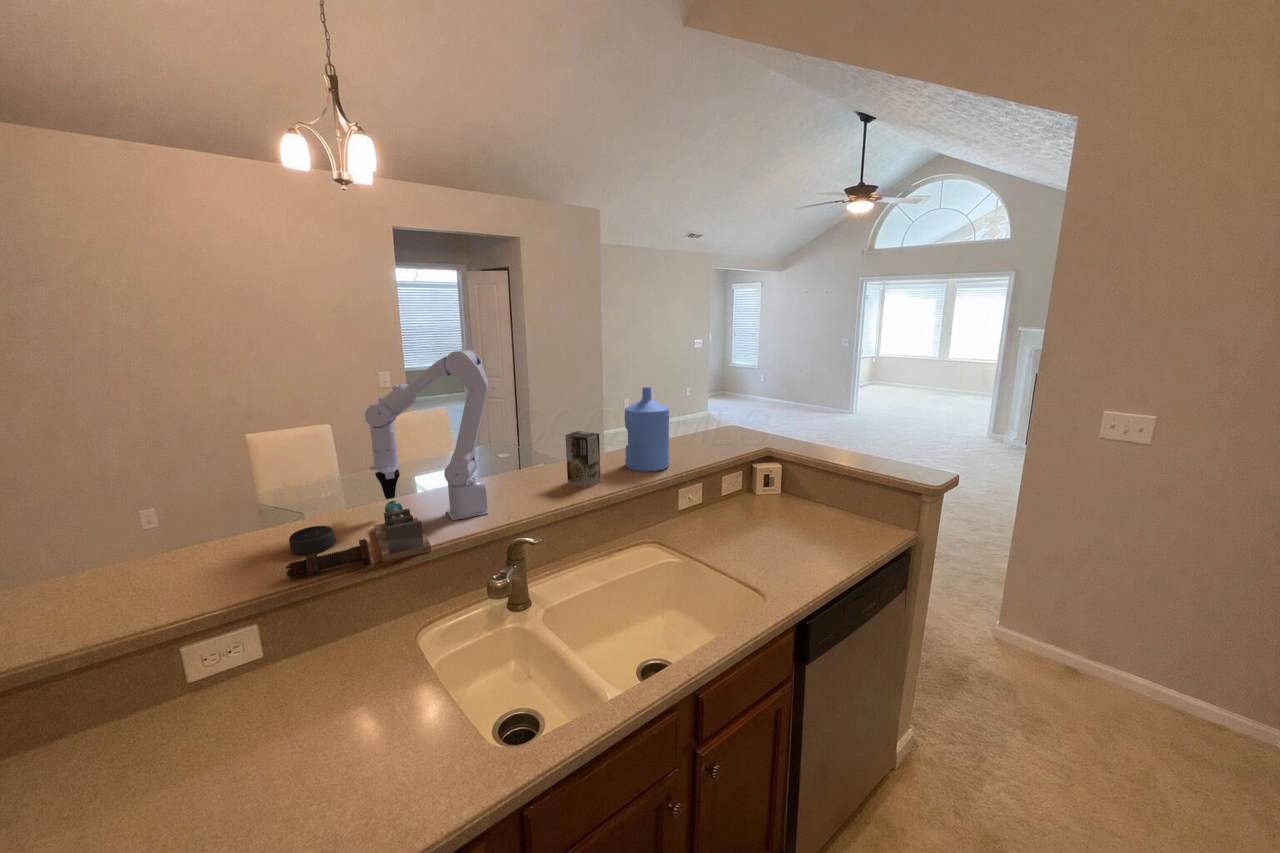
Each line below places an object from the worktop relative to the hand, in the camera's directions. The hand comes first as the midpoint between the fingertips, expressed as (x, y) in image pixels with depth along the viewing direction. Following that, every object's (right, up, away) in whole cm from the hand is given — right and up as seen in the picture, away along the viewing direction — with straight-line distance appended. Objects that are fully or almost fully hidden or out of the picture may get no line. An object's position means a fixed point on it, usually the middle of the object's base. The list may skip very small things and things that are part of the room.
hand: (390, 497), depth 139 cm
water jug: (+69, +5, +46) cm, 83 cm away
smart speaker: (-9, -10, -18) cm, 22 cm away
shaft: (+7, -5, -10) cm, 14 cm away
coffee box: (+49, +1, +28) cm, 56 cm away
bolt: (+1, -12, -29) cm, 31 cm away
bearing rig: (+10, -8, -14) cm, 19 cm away
